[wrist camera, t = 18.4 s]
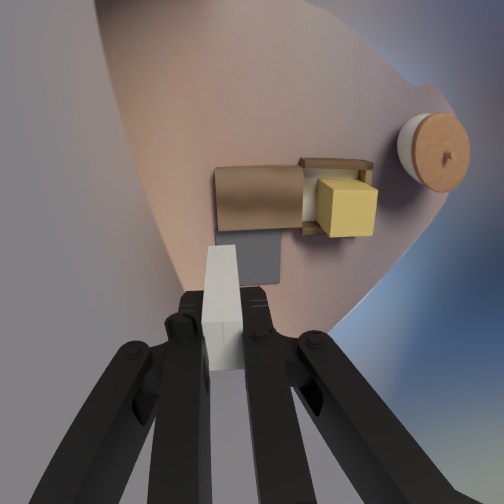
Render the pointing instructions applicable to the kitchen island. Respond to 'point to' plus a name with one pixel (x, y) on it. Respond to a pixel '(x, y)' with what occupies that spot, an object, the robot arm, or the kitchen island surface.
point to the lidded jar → (434, 150)
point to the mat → (255, 254)
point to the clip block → (346, 207)
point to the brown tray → (279, 193)
